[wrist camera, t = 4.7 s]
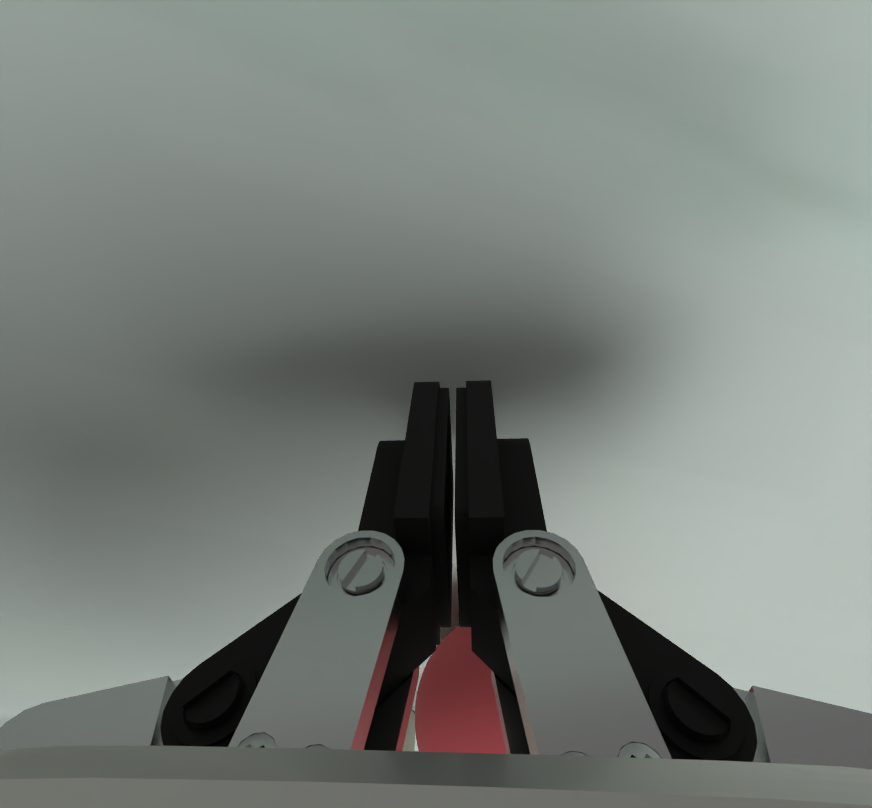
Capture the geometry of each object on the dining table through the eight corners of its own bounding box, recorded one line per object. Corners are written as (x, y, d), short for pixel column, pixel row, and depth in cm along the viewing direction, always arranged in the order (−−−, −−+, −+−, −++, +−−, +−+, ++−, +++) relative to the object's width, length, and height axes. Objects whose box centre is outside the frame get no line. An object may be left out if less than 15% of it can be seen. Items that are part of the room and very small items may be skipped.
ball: (646, 929, 11) (622, 657, 12) (395, 897, 12) (386, 650, 13) (605, 764, 17) (590, 589, 18) (439, 753, 18) (431, 588, 19)
